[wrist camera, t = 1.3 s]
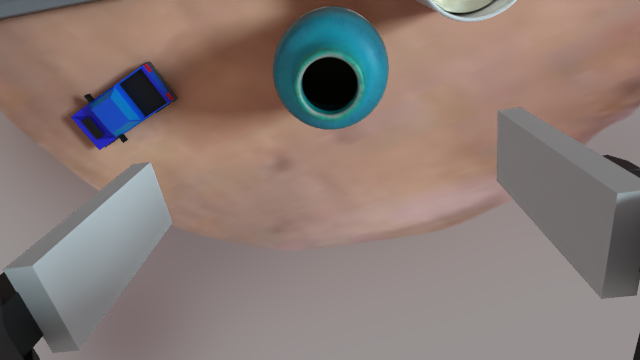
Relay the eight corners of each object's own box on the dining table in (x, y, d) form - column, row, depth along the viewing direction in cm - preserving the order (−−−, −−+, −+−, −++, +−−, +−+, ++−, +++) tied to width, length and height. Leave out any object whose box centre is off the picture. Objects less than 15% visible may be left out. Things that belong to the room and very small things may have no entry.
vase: (353, 112, 49) (362, 174, 32) (274, 77, 48) (238, 122, 31) (393, 29, 45) (429, 48, 28) (307, -12, 44) (288, -19, 26)
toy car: (78, 105, 51) (53, 116, 46) (148, 54, 48) (129, 60, 43) (115, 148, 53) (94, 162, 48) (184, 101, 50) (169, 112, 46)
